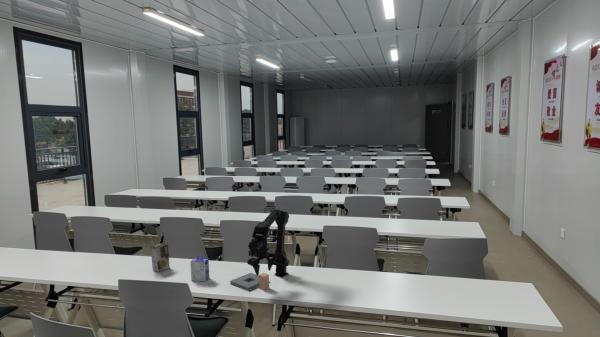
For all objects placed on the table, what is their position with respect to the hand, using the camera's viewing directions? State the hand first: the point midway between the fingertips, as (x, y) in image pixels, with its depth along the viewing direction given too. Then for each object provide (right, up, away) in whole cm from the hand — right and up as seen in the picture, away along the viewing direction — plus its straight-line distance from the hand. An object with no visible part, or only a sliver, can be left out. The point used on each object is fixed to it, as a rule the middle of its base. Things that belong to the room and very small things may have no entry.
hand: (263, 272), depth 222 cm
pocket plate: (-9, -8, +9) cm, 16 cm away
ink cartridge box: (-40, -9, +17) cm, 44 cm away
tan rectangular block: (0, -9, +1) cm, 9 cm away
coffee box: (-71, -7, +36) cm, 80 cm away
